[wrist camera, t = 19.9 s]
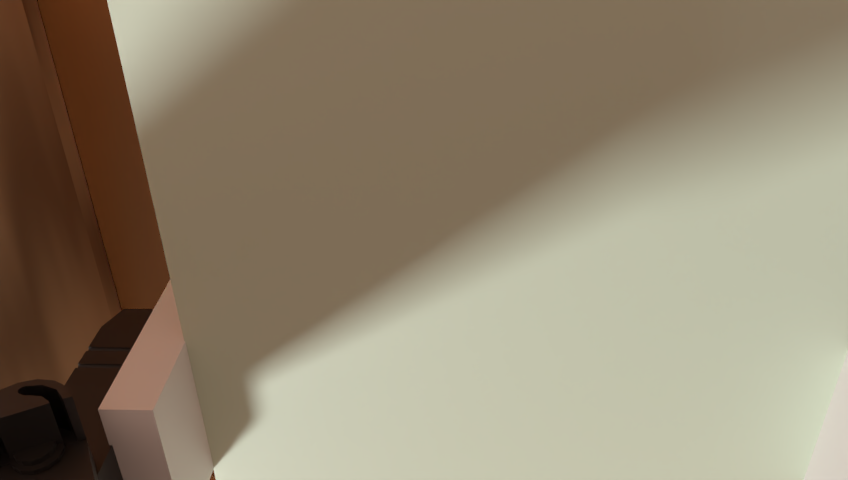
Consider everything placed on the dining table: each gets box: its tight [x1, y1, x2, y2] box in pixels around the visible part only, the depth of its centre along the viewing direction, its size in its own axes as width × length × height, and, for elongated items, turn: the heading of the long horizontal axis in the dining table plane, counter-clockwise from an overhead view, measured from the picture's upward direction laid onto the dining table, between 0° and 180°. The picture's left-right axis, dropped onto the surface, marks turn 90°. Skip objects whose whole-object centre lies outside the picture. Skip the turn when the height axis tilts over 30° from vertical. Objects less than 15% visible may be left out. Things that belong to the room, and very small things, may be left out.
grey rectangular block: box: [107, 0, 848, 480], centre depth 15 cm, size 14×10×6 cm
